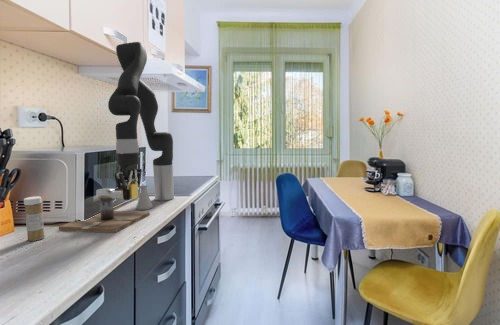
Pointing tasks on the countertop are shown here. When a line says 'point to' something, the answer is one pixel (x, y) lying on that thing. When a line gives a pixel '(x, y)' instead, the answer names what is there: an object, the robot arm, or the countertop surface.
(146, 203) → the flask
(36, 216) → the sprinkles bottle
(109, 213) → the glass spice jar
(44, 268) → the countertop surface
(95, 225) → the board
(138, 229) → the countertop surface
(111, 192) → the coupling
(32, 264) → the countertop surface
